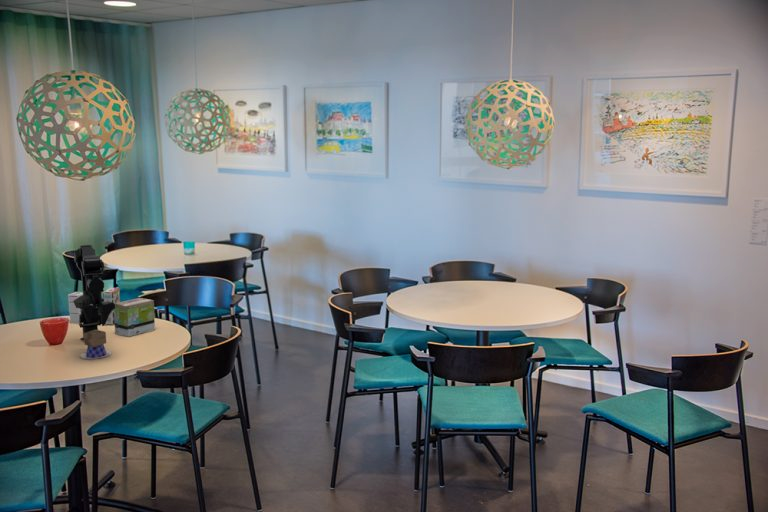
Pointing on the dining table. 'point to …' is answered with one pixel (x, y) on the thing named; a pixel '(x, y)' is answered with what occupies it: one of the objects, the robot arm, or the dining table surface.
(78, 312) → the syrup box
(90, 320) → the robot arm
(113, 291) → the candy bar box
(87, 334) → the walnut block
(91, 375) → the dining table surface
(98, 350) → the pudding
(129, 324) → the tea box
